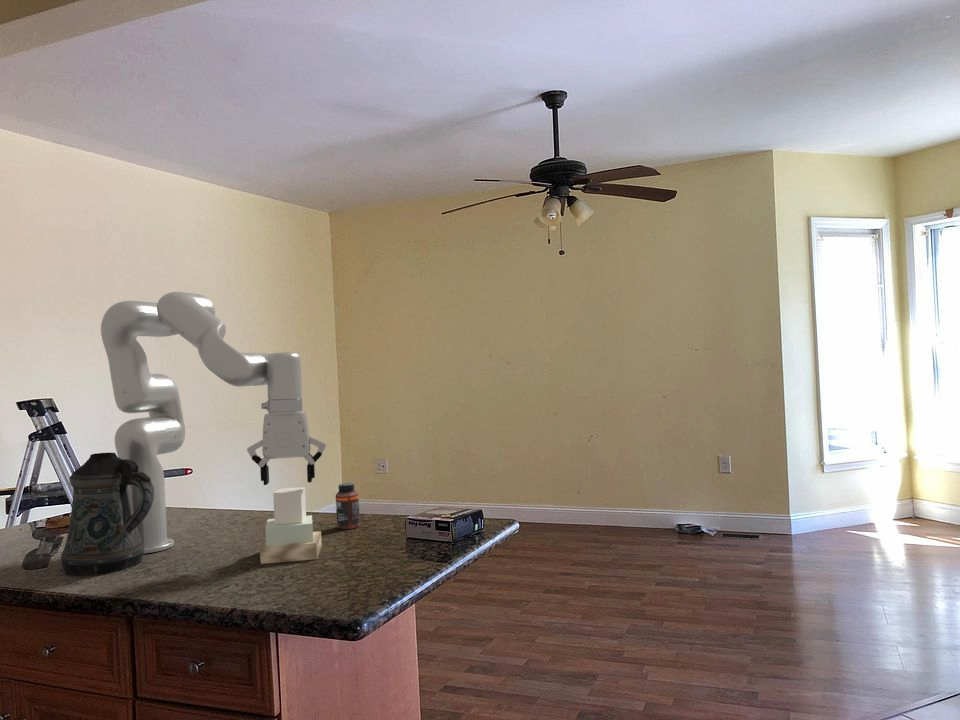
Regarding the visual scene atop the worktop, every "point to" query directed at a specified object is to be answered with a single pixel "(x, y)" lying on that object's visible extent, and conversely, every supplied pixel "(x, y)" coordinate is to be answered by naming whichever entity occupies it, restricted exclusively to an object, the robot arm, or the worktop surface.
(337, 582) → the worktop surface
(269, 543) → the top block
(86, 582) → the worktop surface
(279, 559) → the bottom block
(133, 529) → the beer stein
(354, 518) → the supplement bottle
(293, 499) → the pillar block
